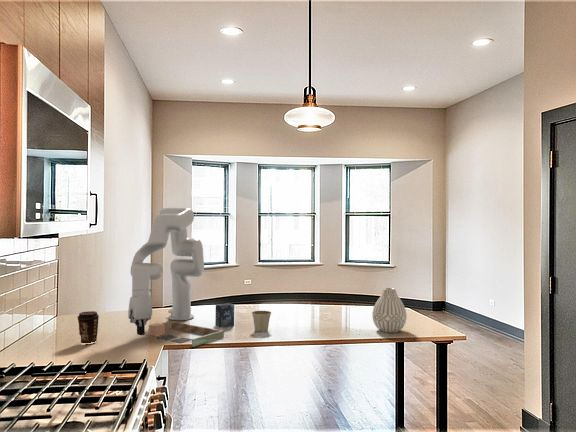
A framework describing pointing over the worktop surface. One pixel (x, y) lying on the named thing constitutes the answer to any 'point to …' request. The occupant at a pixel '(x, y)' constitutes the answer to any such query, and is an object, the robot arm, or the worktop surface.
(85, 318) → the coffee cup
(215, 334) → the shallow rectangular tray
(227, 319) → the box
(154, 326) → the block
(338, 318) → the worktop surface
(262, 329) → the flower pot
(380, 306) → the vase
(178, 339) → the mats
